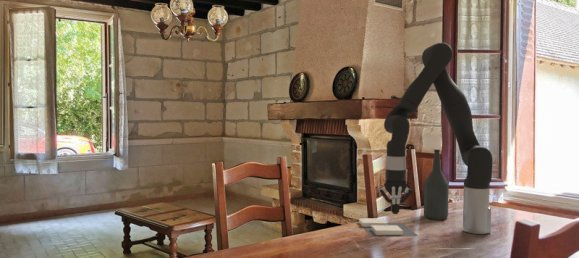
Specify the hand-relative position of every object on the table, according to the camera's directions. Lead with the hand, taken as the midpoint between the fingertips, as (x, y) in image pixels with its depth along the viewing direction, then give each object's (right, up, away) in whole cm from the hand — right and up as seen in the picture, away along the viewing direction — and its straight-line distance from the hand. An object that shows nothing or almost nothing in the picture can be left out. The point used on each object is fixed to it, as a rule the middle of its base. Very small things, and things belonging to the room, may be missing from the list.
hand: (394, 213), depth 176 cm
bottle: (+24, -7, +28) cm, 38 cm away
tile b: (+2, -6, 0) cm, 7 cm away
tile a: (-1, -6, +12) cm, 14 cm away
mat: (-2, -7, +6) cm, 9 cm away
